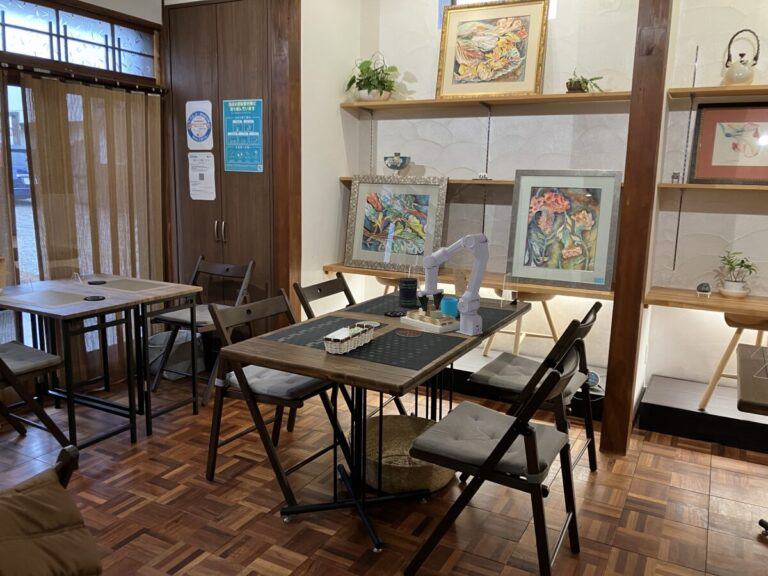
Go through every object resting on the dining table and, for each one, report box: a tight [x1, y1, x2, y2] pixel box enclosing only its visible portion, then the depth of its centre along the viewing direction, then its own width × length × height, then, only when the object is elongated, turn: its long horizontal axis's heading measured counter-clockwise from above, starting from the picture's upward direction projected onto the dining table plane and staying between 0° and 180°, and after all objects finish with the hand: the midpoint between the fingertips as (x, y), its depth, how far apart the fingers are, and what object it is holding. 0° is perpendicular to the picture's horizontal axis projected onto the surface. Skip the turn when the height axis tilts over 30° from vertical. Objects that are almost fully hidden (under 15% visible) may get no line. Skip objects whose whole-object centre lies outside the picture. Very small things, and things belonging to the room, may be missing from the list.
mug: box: [440, 297, 459, 318], centre depth 311 cm, size 12×8×8 cm
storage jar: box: [398, 277, 418, 310], centre depth 329 cm, size 10×10×15 cm
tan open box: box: [406, 304, 456, 326], centre depth 288 cm, size 22×10×7 cm, turn 40°
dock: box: [400, 315, 460, 334], centre depth 289 cm, size 26×16×3 cm, turn 40°
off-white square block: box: [418, 307, 426, 316], centre depth 290 cm, size 4×4×3 cm
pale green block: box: [430, 309, 443, 319], centre depth 285 cm, size 4×4×3 cm
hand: (430, 310), depth 288 cm, fingers open, 7 cm apart
